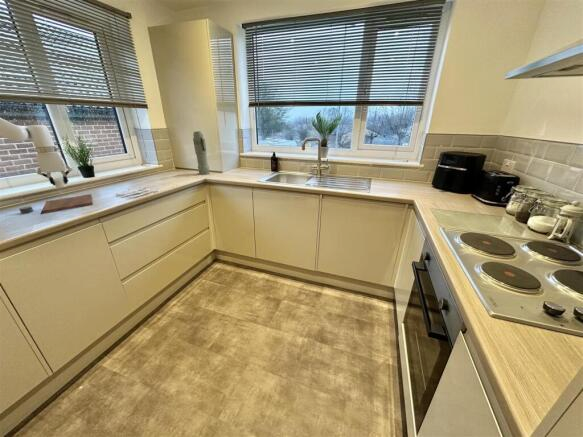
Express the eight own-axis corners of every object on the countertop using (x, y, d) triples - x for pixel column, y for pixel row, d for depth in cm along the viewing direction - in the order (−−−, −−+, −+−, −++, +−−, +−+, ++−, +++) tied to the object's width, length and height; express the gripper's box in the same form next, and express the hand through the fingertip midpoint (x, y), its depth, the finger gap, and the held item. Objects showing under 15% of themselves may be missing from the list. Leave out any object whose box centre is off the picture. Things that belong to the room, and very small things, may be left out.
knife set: (107, 194, 153) (107, 193, 153) (158, 182, 181) (158, 181, 181) (129, 200, 141) (129, 198, 141) (180, 186, 169) (180, 184, 169)
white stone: (55, 188, 130) (52, 180, 128) (56, 186, 133) (53, 179, 132) (66, 186, 132) (63, 179, 131) (66, 185, 136) (64, 178, 134)
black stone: (21, 217, 119) (18, 209, 117) (23, 215, 122) (19, 207, 120) (34, 215, 121) (30, 207, 120) (35, 212, 124) (32, 205, 123)
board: (39, 214, 122) (37, 211, 122) (44, 204, 138) (43, 201, 138) (92, 204, 135) (91, 202, 134) (91, 196, 151) (91, 193, 150)
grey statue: (206, 175, 204) (199, 131, 190) (195, 174, 208) (188, 131, 194) (213, 173, 211) (207, 131, 198) (202, 172, 215) (195, 131, 202)
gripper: (68, 148, 133) (80, 180, 140) (25, 151, 123) (40, 185, 130) (67, 149, 127) (80, 182, 134) (22, 152, 118) (38, 188, 125)
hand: (60, 183), depth 132 cm, fingers closed on white stone, 4 cm apart
